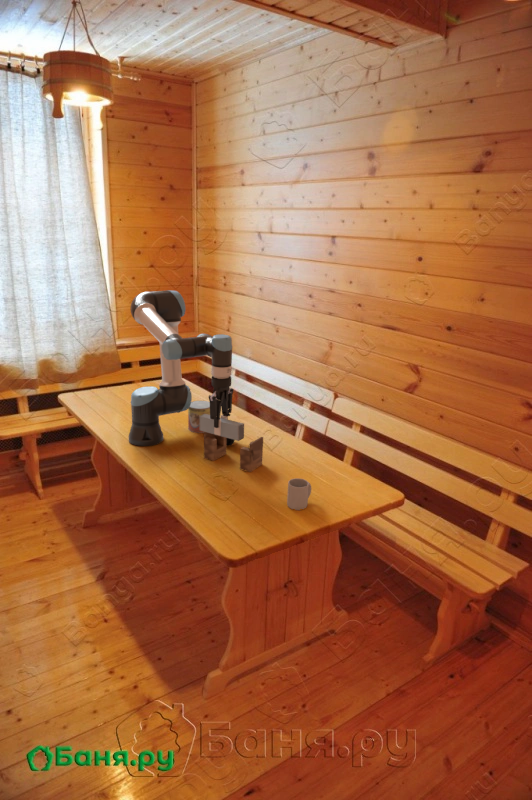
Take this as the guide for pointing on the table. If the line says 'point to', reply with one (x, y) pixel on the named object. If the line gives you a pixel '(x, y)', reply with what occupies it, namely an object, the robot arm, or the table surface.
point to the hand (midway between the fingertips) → (220, 432)
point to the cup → (298, 493)
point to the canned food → (197, 414)
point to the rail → (222, 427)
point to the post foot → (251, 455)
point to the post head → (214, 446)
